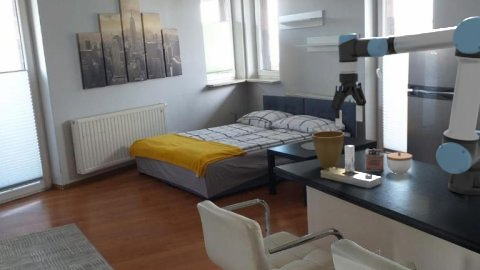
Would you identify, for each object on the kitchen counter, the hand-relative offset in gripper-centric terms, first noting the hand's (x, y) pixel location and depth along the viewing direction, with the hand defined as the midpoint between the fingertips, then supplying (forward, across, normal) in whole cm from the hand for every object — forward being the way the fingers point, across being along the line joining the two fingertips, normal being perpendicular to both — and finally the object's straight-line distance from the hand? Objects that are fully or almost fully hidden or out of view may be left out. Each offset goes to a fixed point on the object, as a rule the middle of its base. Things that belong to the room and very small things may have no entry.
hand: (349, 123), depth 202 cm
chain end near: (+25, 0, +5) cm, 25 cm away
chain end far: (+25, 0, -5) cm, 25 cm away
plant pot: (+25, -11, -21) cm, 34 cm away
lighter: (+25, -19, -1) cm, 31 cm away
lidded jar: (+25, -23, +9) cm, 35 cm away
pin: (+25, 0, 0) cm, 25 cm away
